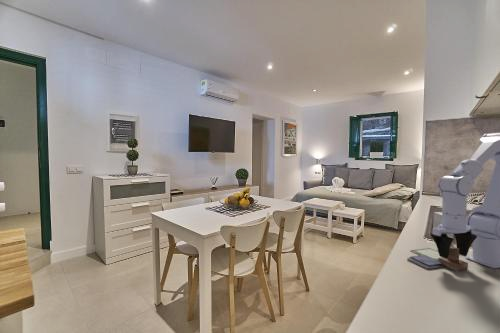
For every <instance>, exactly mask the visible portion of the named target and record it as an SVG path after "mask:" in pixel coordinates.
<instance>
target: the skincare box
mask: <svg viewBox="0 0 500 333" xmlns="http://www.w3.org/2000/svg"><path fill="white" fill-rule="evenodd" d="M439 224H442V211H441V212H440V211H439V212H437V211H434V212H433V227H432V229H433V228H436V227H439ZM447 236H448V237H450V238H453V239H454V234H447ZM451 244H453V245H454V240H453V241H452V243H451Z"/></svg>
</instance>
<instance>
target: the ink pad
mask: <svg viewBox="0 0 500 333" xmlns="http://www.w3.org/2000/svg"><path fill="white" fill-rule="evenodd" d="M406 261H409V262H411V263H413V264H415V265H417V266H419V267H421V268H422V269H423V268H424V269H425V270H434V269H441V268H442V269H443V268H446V267H445V264H442V263H441V262H439V261H436V260H433V259H431V258H429V257H426V256H424V255H412V256H409V257H407V260H406Z"/></svg>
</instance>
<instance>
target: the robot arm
mask: <svg viewBox="0 0 500 333" xmlns="http://www.w3.org/2000/svg"><path fill="white" fill-rule="evenodd" d="M478 143H479V146H478V148H477V149H476V150H475V152H474V153H473V154H472V156H471V157H470V158H469V159H464V160H461V162H460V163H459V164H458V165H457V166H456V167H455V168H454V169H453V171H452V172H450V173H449V175H444V176H443V177H441V178H440V179H439V181H438V184H437V189H438V190H439V194H440V195H439V196H440V198H441V199H442V205H441V206H442V208H441V210H442V211H441V212H442V224H439V227H436V228H433V227H432V232H431V233H430V237H431V238H432V240H433V239H434V240H433V241H434V243H435V246H436V247H437V248H436V250H437V251H438V252H439V256H441V257H443V258H446V259H447V258H448V256H449V250H450V246H452V245H451V243H452V241H453V242H454V240H455V242H456V247H457V248H459V256H462V257H465V259H467V260H470V261H473V262H475V263H478V264H481V265H483V266H487V267H490V268H492V269H497V268H500V132H491V133H484V134H483V135H482V136H481V137H480V138H479V142H478ZM489 160H493V161H495V164H494V168H493V171H492V174H491V178H490V181H489V184H488V187H487V190H486V193H485V196H484V198H483V202H482V204H480V205H478V206H475V207H473V208H472V209H471V211H470V213H469V214H468V215H467V204H468V203H467V201H468V200H467V199H468V195H469V194H471V193H472V191H473V189H474V188H473V187H474V184H475V180H477V178H478V177H479V176H480V175H481V174H482V173H483V171H484V168H485V167H483V165H484V164H486V163H487V162H488V161H489ZM447 234H453V238H450V237H448V236H447ZM454 238H455V239H454ZM471 246H472V255H468V254H469V251H470V248H471Z"/></svg>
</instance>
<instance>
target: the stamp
mask: <svg viewBox="0 0 500 333" xmlns="http://www.w3.org/2000/svg"><path fill="white" fill-rule="evenodd" d="M438 262H441V263H442V264H445V267H444V268H446V269H448V270H450V271H453V272H462V271H467V270H468V269H469V262H467V261H464V260H462V259H460V254H459V248H457V246H453V245H451V246H450V250H449V256H448V258H447V259H446V258H443V257H441V258H439V261H438Z"/></svg>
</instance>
